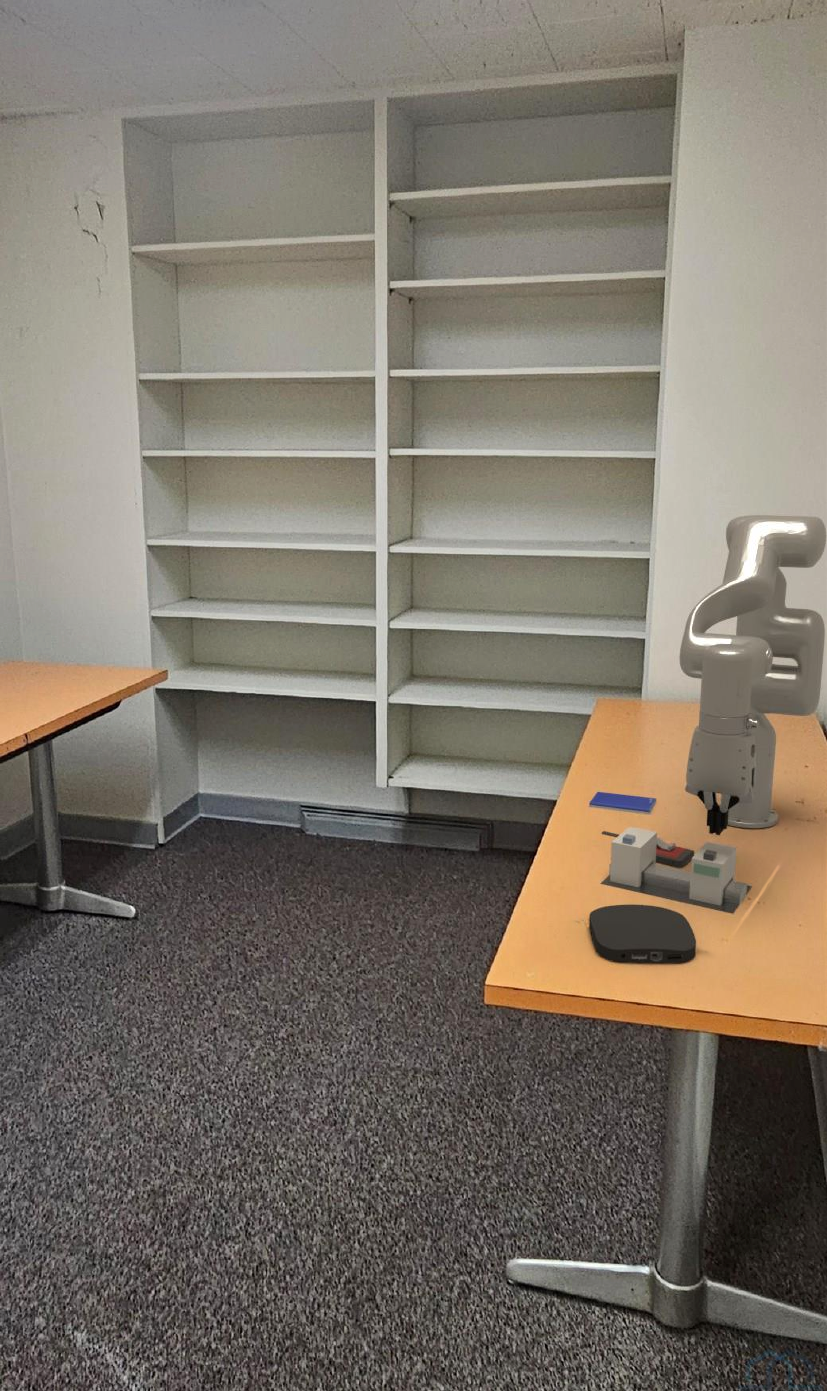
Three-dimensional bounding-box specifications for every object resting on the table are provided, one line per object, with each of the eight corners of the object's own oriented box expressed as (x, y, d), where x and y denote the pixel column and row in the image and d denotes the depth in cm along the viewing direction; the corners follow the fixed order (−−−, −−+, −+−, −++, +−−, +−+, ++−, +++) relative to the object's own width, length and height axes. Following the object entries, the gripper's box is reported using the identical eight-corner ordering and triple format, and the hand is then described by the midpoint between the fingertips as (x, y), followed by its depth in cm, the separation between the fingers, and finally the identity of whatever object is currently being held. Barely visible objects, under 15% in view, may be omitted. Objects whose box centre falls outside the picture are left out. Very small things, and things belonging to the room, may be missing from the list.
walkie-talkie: (705, 862, 181) (604, 838, 193) (707, 839, 180) (605, 816, 192) (686, 878, 174) (582, 852, 186) (688, 854, 173) (583, 829, 185)
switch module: (703, 880, 170) (706, 835, 168) (733, 886, 168) (737, 841, 166) (688, 899, 163) (691, 852, 161) (719, 905, 160) (723, 858, 159)
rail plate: (625, 864, 179) (626, 849, 179) (751, 891, 168) (753, 875, 167) (600, 888, 169) (600, 872, 169) (732, 919, 158) (734, 901, 157)
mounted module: (627, 864, 177) (629, 821, 175) (655, 870, 174) (657, 826, 173) (609, 880, 170) (611, 836, 168) (638, 887, 168) (640, 842, 166)
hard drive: (656, 797, 211) (598, 790, 216) (649, 809, 204) (589, 802, 209) (656, 804, 212) (597, 797, 216) (649, 817, 204) (589, 809, 209)
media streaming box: (679, 920, 158) (680, 903, 158) (701, 966, 144) (702, 947, 144) (585, 919, 159) (586, 902, 158) (598, 965, 145) (599, 945, 144)
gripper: (778, 723, 158) (769, 832, 163) (684, 711, 166) (678, 815, 170) (766, 735, 152) (758, 848, 156) (669, 722, 160) (664, 830, 164)
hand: (716, 831), depth 163 cm, fingers closed
